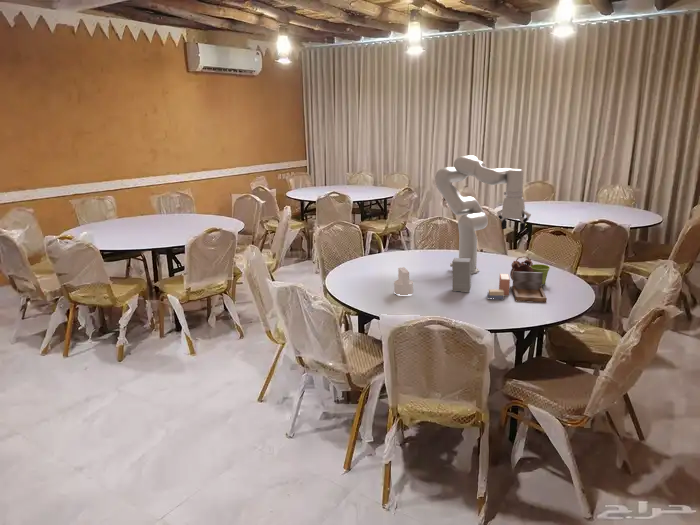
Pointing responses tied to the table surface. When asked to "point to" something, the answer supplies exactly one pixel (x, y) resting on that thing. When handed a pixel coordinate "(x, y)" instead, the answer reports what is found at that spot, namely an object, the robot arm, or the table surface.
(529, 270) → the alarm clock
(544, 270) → the plant pot
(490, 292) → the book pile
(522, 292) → the brown open box
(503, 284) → the salmon pink block
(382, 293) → the table surface
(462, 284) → the skincare box
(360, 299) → the table surface
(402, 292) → the cylinder with rectangular tab
